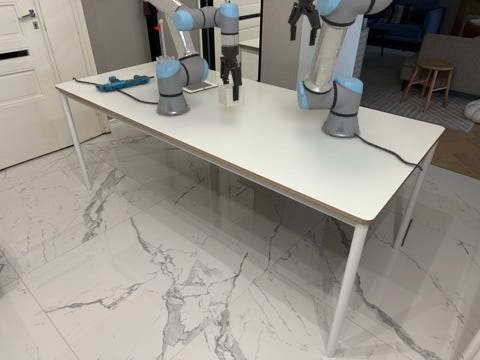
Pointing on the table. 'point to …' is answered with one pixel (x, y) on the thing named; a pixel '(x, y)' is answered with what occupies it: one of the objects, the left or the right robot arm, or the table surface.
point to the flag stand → (161, 58)
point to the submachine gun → (122, 82)
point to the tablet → (199, 87)
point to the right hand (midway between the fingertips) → (302, 43)
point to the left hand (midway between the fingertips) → (231, 97)
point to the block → (229, 94)
